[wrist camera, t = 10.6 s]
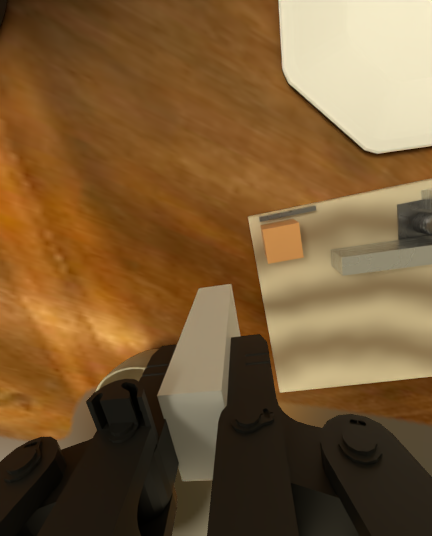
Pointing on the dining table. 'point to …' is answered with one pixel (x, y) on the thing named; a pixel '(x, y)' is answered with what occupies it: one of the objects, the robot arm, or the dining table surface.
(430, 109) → the plate
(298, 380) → the board
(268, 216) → the tongs base
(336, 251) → the bar
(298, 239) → the orange cube
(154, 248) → the dining table surface
